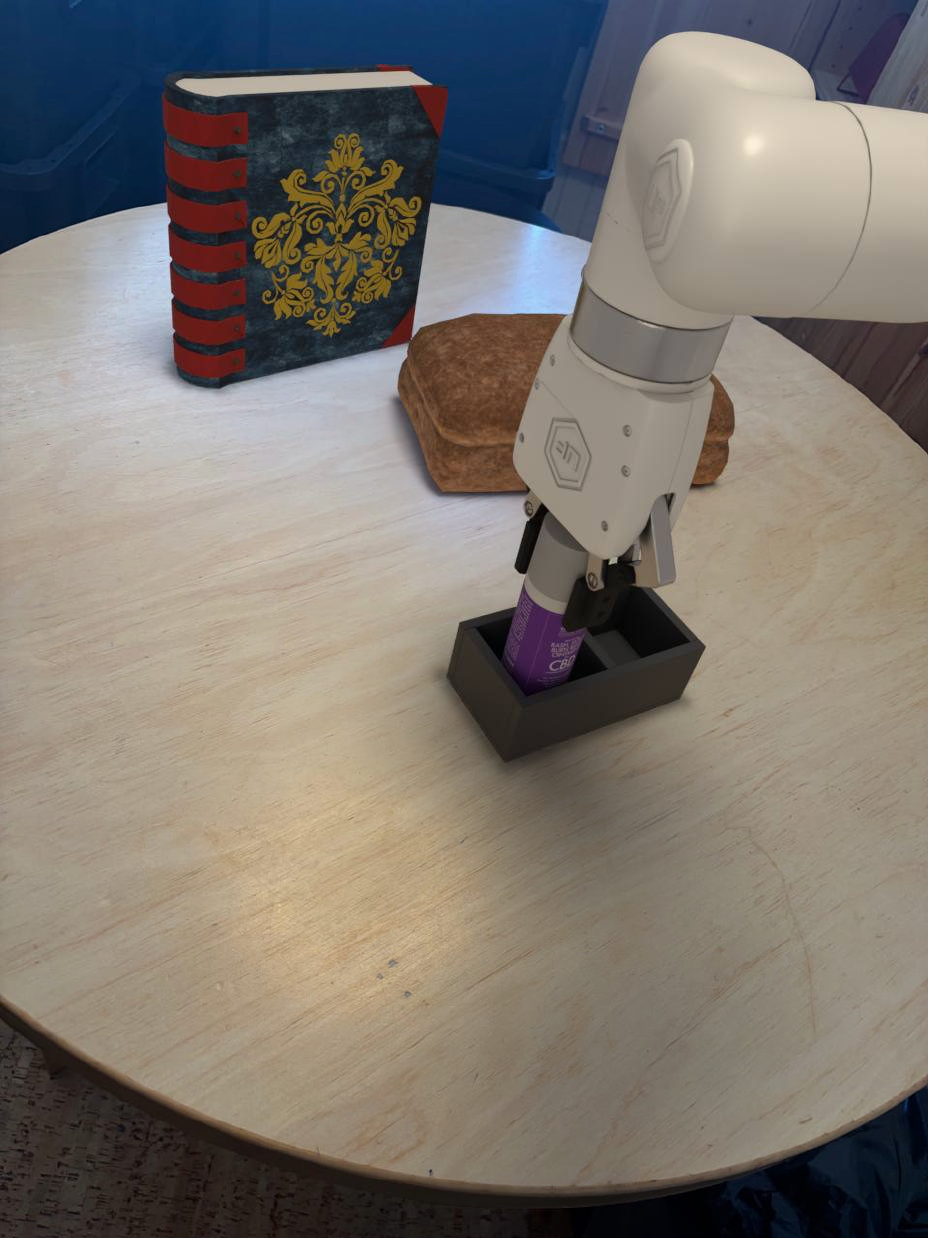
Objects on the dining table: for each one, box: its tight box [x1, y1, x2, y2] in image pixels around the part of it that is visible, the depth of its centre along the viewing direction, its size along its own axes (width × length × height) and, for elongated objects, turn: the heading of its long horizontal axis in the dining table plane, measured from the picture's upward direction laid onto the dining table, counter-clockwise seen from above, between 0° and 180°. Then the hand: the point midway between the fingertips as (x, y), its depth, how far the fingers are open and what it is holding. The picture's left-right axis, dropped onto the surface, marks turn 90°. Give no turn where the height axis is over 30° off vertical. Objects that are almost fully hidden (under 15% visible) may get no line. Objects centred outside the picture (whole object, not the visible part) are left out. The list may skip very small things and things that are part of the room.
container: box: [501, 511, 612, 697], centre depth 61 cm, size 5×5×15 cm
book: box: [161, 63, 449, 389], centre depth 86 cm, size 25×7×25 cm, turn 129°
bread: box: [397, 312, 736, 493], centre depth 87 cm, size 17×29×11 cm, turn 106°
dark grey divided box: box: [446, 585, 707, 763], centre depth 66 cm, size 8×15×6 cm, turn 119°
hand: (560, 592), depth 59 cm, fingers closed on container, 4 cm apart
